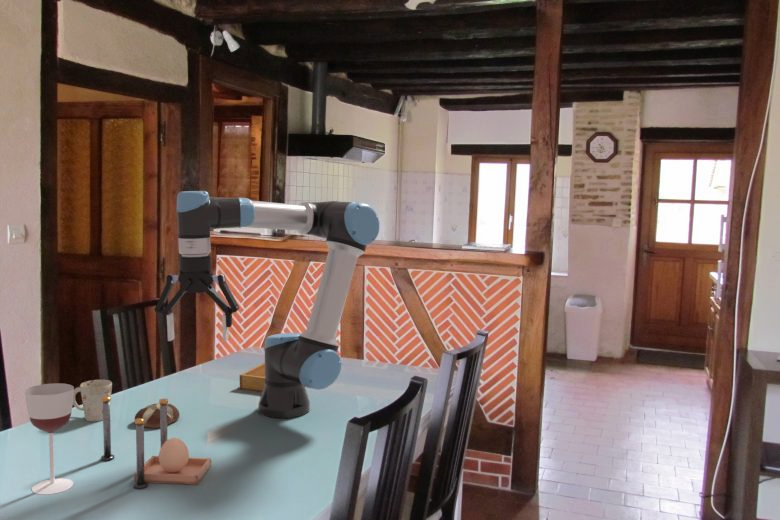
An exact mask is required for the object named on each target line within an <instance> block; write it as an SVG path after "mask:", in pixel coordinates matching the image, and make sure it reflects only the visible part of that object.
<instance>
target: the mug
mask: <svg viewBox="0 0 780 520" xmlns="http://www.w3.org/2000/svg"><path fill="white" fill-rule="evenodd" d="M112 389H113V382H112V381H111V380H109V379H94V380H93V379H91V380H88V381H84V382H81V383H80V385H79V386H77V387H74V396H73V406H74V407H75V408H76V410H79V411H81V412H82V411H83V413H84V418H85V420H86V421H88V422H100V421H102V422H103V402H102V397H104V396H110V397H111V396H112ZM78 393H80V396H81V400H82V401H81V402H82V406H80V405H79V404H78V403H77V401H76V395H77V394H78Z"/></svg>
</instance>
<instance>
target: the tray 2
mask: <svg viewBox="0 0 780 520" xmlns="http://www.w3.org/2000/svg"><path fill="white" fill-rule="evenodd" d="M264 386H265V361H264V362H262V363H260V364H257V365H256V366H254V367H252V368H250V369H249V370H247V371H245V372H242V373H241V374H239V389H240V390H244V391H252V392H260V393H262V392H263V389H264Z"/></svg>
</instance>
